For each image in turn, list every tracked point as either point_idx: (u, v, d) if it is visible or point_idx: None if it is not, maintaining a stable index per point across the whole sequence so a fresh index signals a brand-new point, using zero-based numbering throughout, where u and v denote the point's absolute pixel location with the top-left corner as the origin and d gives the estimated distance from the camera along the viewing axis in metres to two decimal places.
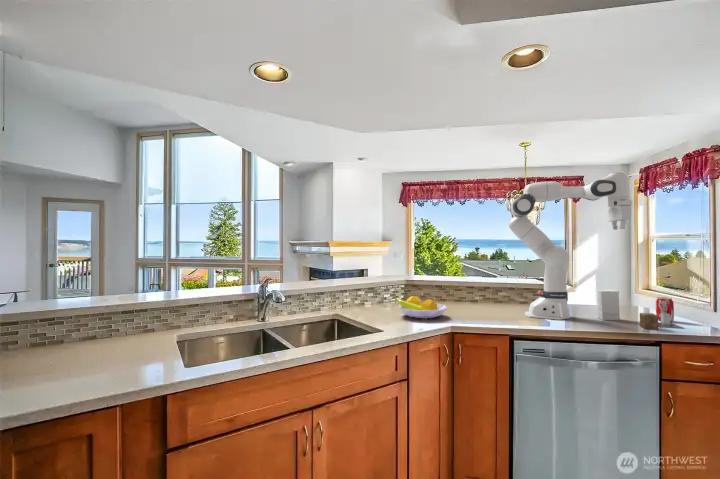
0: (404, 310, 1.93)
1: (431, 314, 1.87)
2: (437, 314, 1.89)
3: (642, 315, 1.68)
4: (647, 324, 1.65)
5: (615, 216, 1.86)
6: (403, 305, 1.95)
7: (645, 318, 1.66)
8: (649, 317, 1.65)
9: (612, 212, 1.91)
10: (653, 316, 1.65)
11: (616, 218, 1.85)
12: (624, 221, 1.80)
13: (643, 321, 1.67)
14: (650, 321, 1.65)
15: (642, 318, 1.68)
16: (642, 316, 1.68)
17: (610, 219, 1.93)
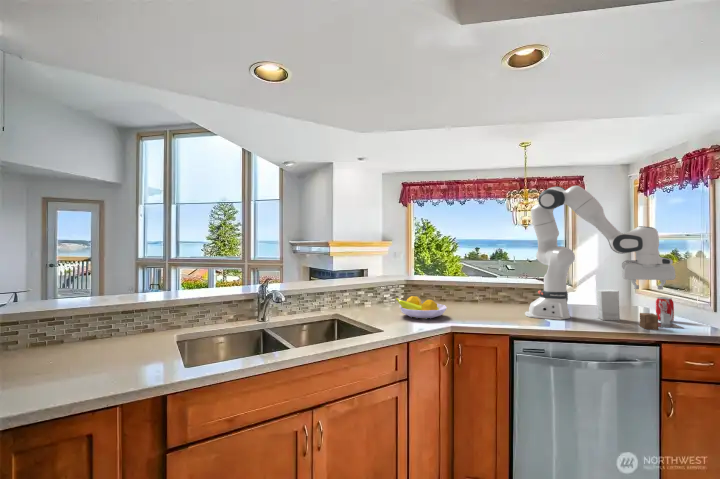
0: (404, 310, 1.93)
1: (431, 314, 1.87)
2: (437, 314, 1.89)
3: (642, 315, 1.68)
4: (647, 324, 1.65)
5: (653, 275, 1.65)
6: (403, 305, 1.95)
7: (645, 318, 1.66)
8: (649, 317, 1.65)
9: (640, 269, 1.67)
10: (653, 316, 1.65)
11: (656, 277, 1.65)
12: None
13: (643, 321, 1.67)
14: (650, 321, 1.65)
15: (642, 318, 1.68)
16: (642, 316, 1.68)
17: (635, 277, 1.68)
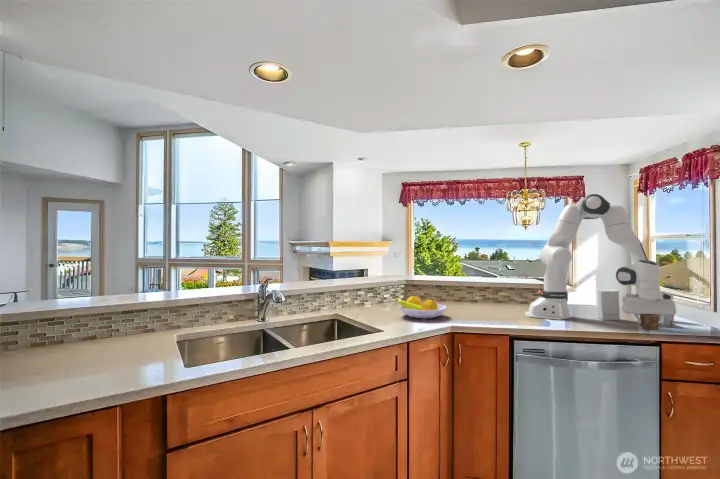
0: (404, 310, 1.93)
1: (431, 314, 1.87)
2: (437, 314, 1.89)
3: (642, 315, 1.68)
4: (647, 324, 1.65)
5: (653, 309, 1.65)
6: (403, 305, 1.95)
7: (645, 318, 1.66)
8: (649, 317, 1.65)
9: (641, 304, 1.67)
10: (653, 316, 1.65)
11: (656, 312, 1.65)
12: None
13: (643, 321, 1.67)
14: (650, 321, 1.65)
15: (642, 318, 1.68)
16: (642, 316, 1.68)
17: (636, 311, 1.67)
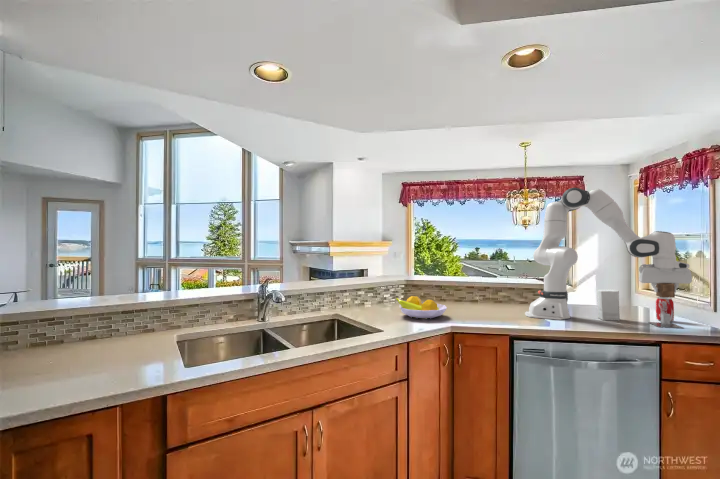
0: (404, 310, 1.93)
1: (431, 314, 1.87)
2: (437, 314, 1.89)
3: (658, 284, 1.73)
4: (663, 292, 1.70)
5: (669, 278, 1.70)
6: (403, 305, 1.95)
7: (662, 287, 1.70)
8: (666, 286, 1.70)
9: (657, 273, 1.72)
10: (669, 284, 1.69)
11: (673, 281, 1.70)
12: None
13: (660, 290, 1.72)
14: (667, 289, 1.70)
15: (658, 287, 1.73)
16: (658, 285, 1.73)
17: (652, 281, 1.72)
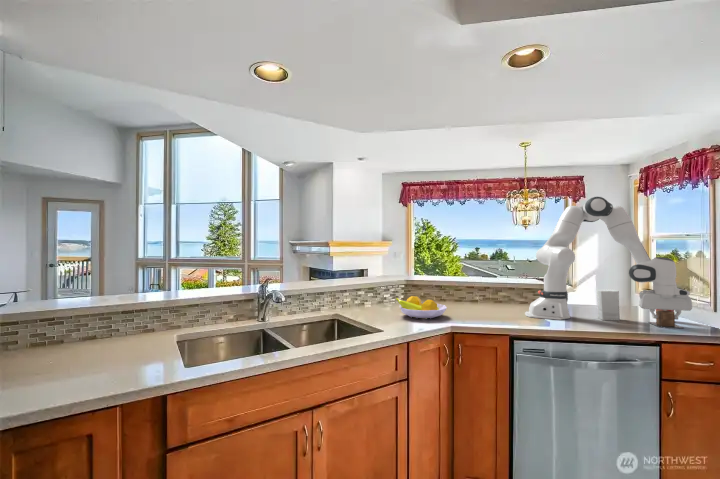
0: (404, 310, 1.93)
1: (431, 314, 1.87)
2: (437, 314, 1.89)
3: (659, 312, 1.72)
4: (663, 321, 1.70)
5: (670, 305, 1.70)
6: (403, 305, 1.95)
7: (662, 315, 1.70)
8: (666, 314, 1.70)
9: (657, 299, 1.72)
10: (670, 313, 1.69)
11: (673, 308, 1.70)
12: None
13: (660, 318, 1.72)
14: (667, 318, 1.70)
15: (658, 315, 1.73)
16: (659, 313, 1.72)
17: (652, 307, 1.72)
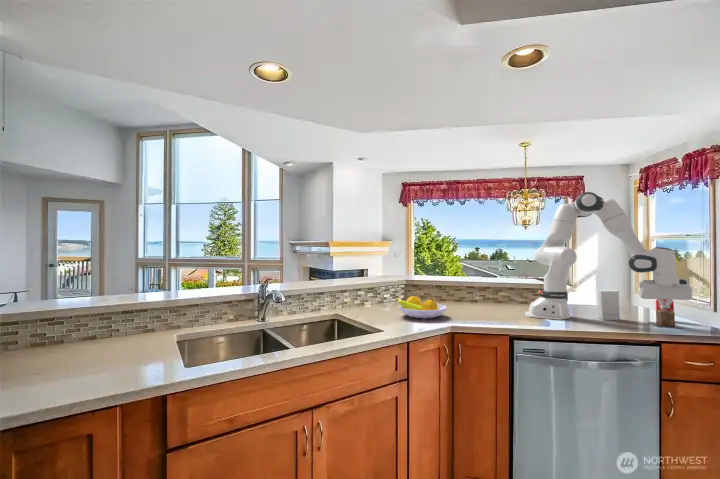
0: (404, 310, 1.93)
1: (431, 314, 1.87)
2: (437, 314, 1.89)
3: (659, 312, 1.72)
4: (663, 321, 1.70)
5: (670, 294, 1.70)
6: (403, 305, 1.95)
7: (662, 315, 1.70)
8: (666, 314, 1.70)
9: (657, 289, 1.72)
10: (670, 313, 1.69)
11: (673, 297, 1.70)
12: None
13: (660, 318, 1.72)
14: (667, 318, 1.70)
15: (658, 315, 1.73)
16: (659, 313, 1.72)
17: (653, 297, 1.72)
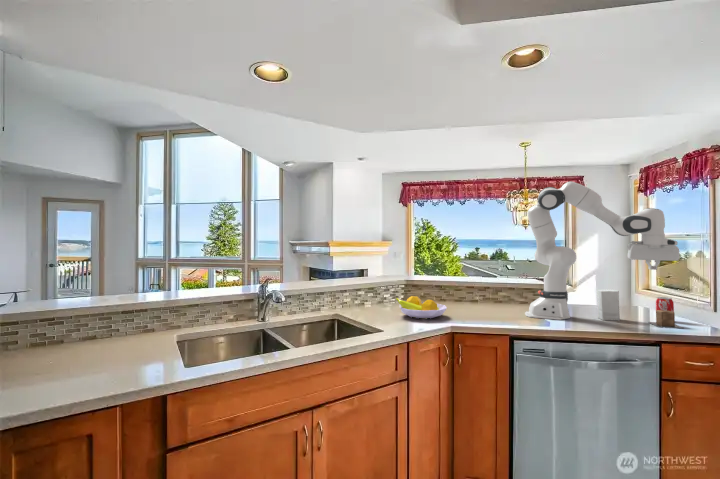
0: (404, 310, 1.93)
1: (431, 314, 1.87)
2: (437, 314, 1.89)
3: (659, 312, 1.72)
4: (663, 321, 1.70)
5: (657, 255, 1.70)
6: (403, 305, 1.95)
7: (662, 315, 1.70)
8: (666, 314, 1.70)
9: (645, 250, 1.72)
10: (670, 313, 1.69)
11: (661, 258, 1.70)
12: None
13: (660, 318, 1.72)
14: (667, 318, 1.70)
15: (658, 315, 1.73)
16: (659, 313, 1.72)
17: (640, 257, 1.72)
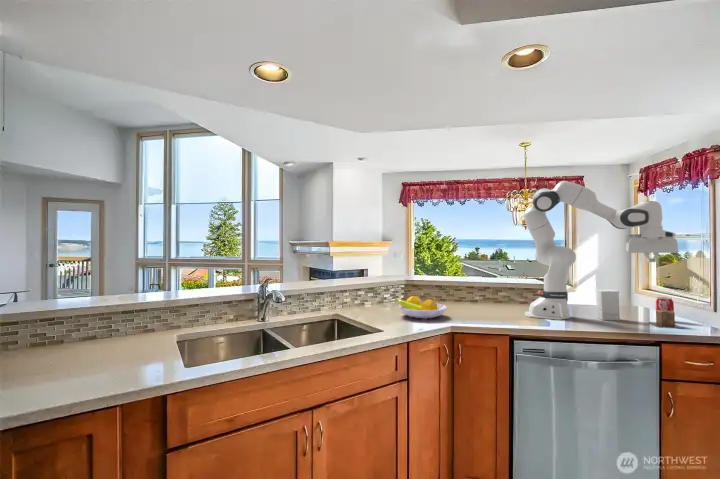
0: (404, 310, 1.93)
1: (431, 314, 1.87)
2: (437, 314, 1.89)
3: (659, 312, 1.72)
4: (663, 321, 1.70)
5: (656, 248, 1.70)
6: (403, 305, 1.95)
7: (662, 315, 1.70)
8: (666, 314, 1.70)
9: (644, 243, 1.72)
10: (670, 313, 1.69)
11: (659, 250, 1.70)
12: None
13: (660, 318, 1.72)
14: (667, 318, 1.70)
15: (658, 315, 1.73)
16: (659, 313, 1.72)
17: (639, 250, 1.72)
